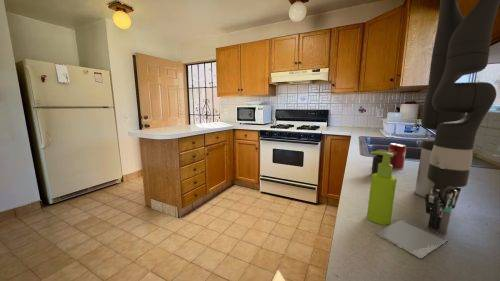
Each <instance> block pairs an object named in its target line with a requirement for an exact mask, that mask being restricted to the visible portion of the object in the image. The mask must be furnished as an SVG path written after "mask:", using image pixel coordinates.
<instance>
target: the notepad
mask: <svg viewBox="0 0 500 281" xmlns="http://www.w3.org/2000/svg"><path fill="white" fill-rule="evenodd" d="M376 234H378V235H380V236H382V237H383V238H386V239H387V240H389V241H391V242H393V243H395V244H397V245H399V246H401V247H402V248H405V249H406V250H408V251H411V252H413V251H414V250H416V249H417V250H419V249H420V248H421V249H422V248H426V247H427V248H428V245H429V247H431V245H434V247H435V245H436V247H437V245H438V246H439V245H440V244H442V243H443V242H445V241H446V240H448V241H449V239H448V238H447V237H444V236H442V235H441V234H438V233H435V232H433V231H431V230H430V229H428V228H424V227H422V226H419V225H417V224H415V223H413V222H410V221H409V220H406V219H404V218H402V219H400V220H399V221H396V222H394V223H392V224H389V225H387V226H385V227H384V228H381V229H379V230H377V231H375V235H376ZM378 235H377V236H378ZM380 236H379V237H380ZM383 238H382V239H383ZM387 240H386V241H387ZM417 250H416V251H417Z"/></svg>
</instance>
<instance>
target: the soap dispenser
mask: <svg viewBox="0 0 500 281" xmlns="http://www.w3.org/2000/svg"><path fill="white" fill-rule="evenodd" d="M369 153H370V155H376V154H379V155H383V160H382V162H381V163H379V164H378V171H377V173H374V174H371V178H370V179H371V181H370V189H369V197H368V203H367V204H368V206H367V211H366V217H368V218H367V219H368V220H369V219H370V220H371V221H370V220H369V221H370V222H372V221H373V222H372V223H374V222H375V224H377V223H378V224H377V225H381V224H383V225H384V226H388V225H391V221H392V214H393V207H394V200H395V193H396V186H397V180H398V179H397V177H395V176H393V169H394V168H393V165H391V164H390V157H393V153H388V152H383V151H376V150H375V151H374V150H372V151H370V152H369ZM387 224H388V225H387ZM383 225H382V226H383Z"/></svg>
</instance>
